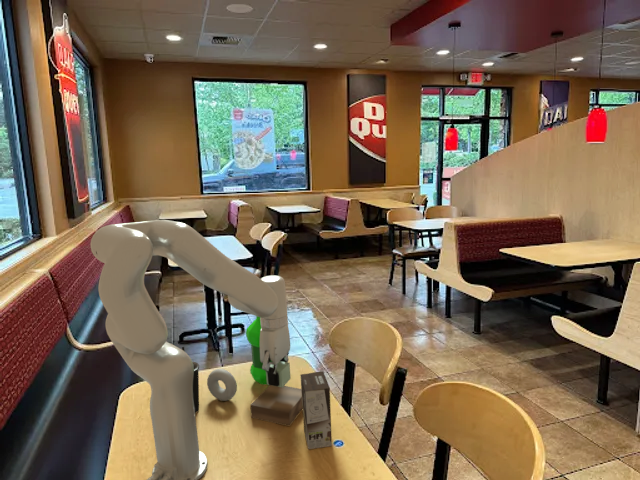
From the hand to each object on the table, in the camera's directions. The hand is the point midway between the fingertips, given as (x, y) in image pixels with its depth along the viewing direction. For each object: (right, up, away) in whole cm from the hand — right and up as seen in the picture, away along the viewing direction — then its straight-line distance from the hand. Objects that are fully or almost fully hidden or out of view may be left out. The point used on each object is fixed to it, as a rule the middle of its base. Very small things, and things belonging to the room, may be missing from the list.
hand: (278, 379), depth 126 cm
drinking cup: (-26, -10, +4) cm, 28 cm away
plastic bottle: (-6, -6, +18) cm, 20 cm away
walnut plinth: (0, -9, +2) cm, 10 cm away
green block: (0, -1, 0) cm, 1 cm away
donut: (-18, -9, +8) cm, 21 cm away
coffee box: (+11, -12, -11) cm, 19 cm away
